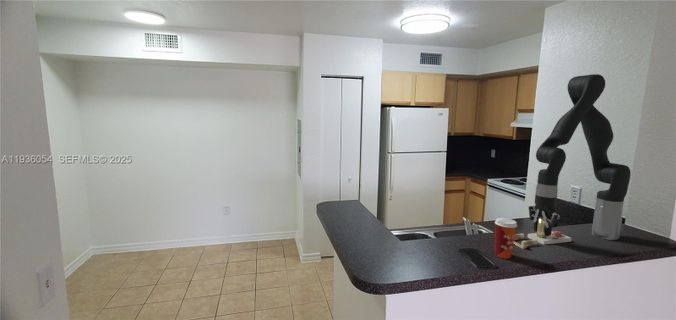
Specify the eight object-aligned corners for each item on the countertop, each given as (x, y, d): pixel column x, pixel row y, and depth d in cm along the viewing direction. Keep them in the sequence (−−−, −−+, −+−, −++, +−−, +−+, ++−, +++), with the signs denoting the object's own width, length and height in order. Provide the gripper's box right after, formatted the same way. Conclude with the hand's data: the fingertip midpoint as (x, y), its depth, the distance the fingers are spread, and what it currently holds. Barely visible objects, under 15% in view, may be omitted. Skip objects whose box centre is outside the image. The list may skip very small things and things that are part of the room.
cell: (541, 234, 135) (543, 216, 134) (548, 237, 132) (550, 218, 130) (534, 235, 134) (536, 216, 133) (541, 238, 131) (543, 219, 129)
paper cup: (505, 261, 115) (509, 225, 113) (487, 253, 122) (490, 219, 120) (519, 257, 119) (522, 222, 117) (500, 249, 125) (503, 216, 123)
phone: (476, 248, 125) (498, 266, 110) (475, 250, 125) (498, 269, 110) (457, 248, 124) (476, 266, 109) (457, 251, 124) (476, 269, 110)
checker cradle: (553, 236, 140) (554, 230, 139) (570, 243, 132) (571, 237, 132) (527, 239, 136) (527, 233, 136) (543, 246, 129) (544, 240, 128)
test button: (556, 238, 137) (557, 230, 136) (562, 240, 134) (563, 233, 134) (550, 238, 136) (551, 231, 136) (557, 241, 133) (558, 233, 133)
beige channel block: (522, 240, 135) (522, 233, 135) (537, 247, 128) (537, 240, 128) (508, 241, 134) (509, 234, 133) (523, 248, 126) (523, 241, 126)
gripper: (569, 198, 124) (564, 239, 127) (538, 190, 138) (534, 226, 140) (554, 199, 122) (549, 240, 125) (524, 190, 136) (520, 228, 139)
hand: (541, 233), depth 133 cm, fingers open, 4 cm apart
